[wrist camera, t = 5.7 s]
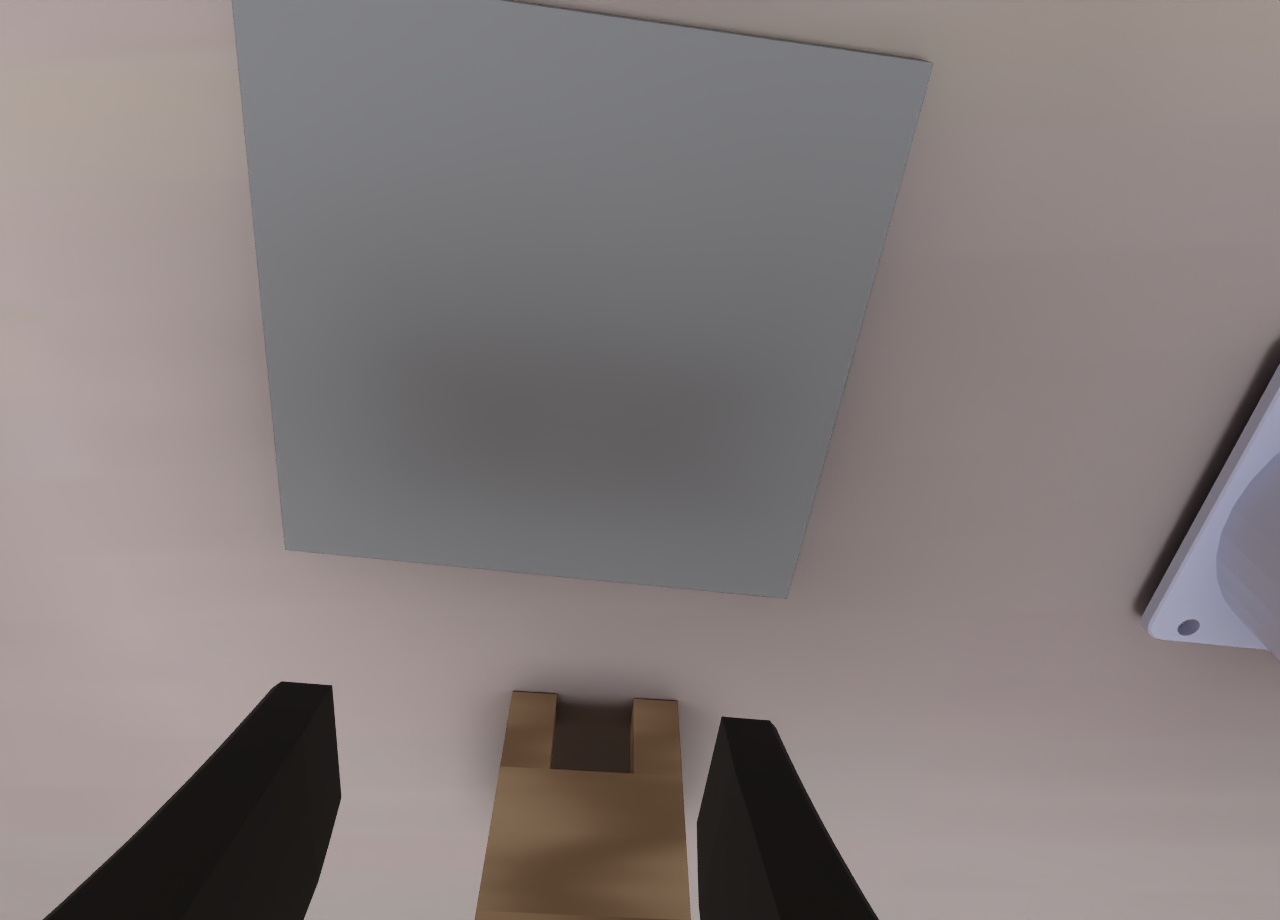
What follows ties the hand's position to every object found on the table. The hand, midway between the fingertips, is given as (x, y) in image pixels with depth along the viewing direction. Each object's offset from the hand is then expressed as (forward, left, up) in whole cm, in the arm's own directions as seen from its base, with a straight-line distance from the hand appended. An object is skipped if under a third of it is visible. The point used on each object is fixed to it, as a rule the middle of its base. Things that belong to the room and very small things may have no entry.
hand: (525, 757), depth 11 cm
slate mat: (0, -2, -9) cm, 10 cm away
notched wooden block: (-2, +11, -9) cm, 14 cm away
